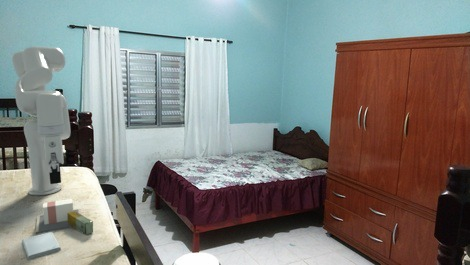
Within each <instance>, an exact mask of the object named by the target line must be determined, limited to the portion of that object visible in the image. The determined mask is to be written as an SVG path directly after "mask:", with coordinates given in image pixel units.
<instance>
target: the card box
mask: <svg viewBox="0 0 470 265" xmlns="http://www.w3.org/2000/svg"><path fill="white" fill-rule="evenodd" d="M73 204H74V203H73V198H68V199H62V200H53V201H48V202H43V204H42V213H43V214H42V215H44V224H51V223H56V222H62V221H67V220H68V216H67V213H69V212H72V211H73V210H74V205H73Z"/></svg>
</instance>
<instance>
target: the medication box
mask: <svg viewBox="0 0 470 265" xmlns="http://www.w3.org/2000/svg"><path fill="white" fill-rule="evenodd" d="M67 216H68V224H70V225H71V226H73V227H72V228H75V229H76V230H78V231H79V232H81V233H82V234H84V235H85V236H89V235H91V234H93V233H94V221H93V220H91V219H90V218H88V217H86V216H84V215H82V213H81V214H79V213H77V212H76V211H72V212H69V213H67Z"/></svg>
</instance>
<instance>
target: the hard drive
mask: <svg viewBox="0 0 470 265" xmlns="http://www.w3.org/2000/svg"><path fill="white" fill-rule="evenodd" d="M21 241H22V245H23V247H24V250H25V254H26V256H27V260H32V259H35V258H39V257H41V256H45V255H49V254H53V253H55V252H60V251H61V250H62V249H61V246H60V244H59V242H58V240H57V238H56V236H55V234H54V232H53V231H48V232H44V233H40V234H38V235H37V234H36V235H34V236H29V237H26V238H23V239H22V240H21Z"/></svg>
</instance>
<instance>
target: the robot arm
mask: <svg viewBox="0 0 470 265" xmlns="http://www.w3.org/2000/svg"><path fill="white" fill-rule="evenodd" d="M11 59H12V60H11V61H12V65H13V68H14V71H15V74H16V75H17V77H18V80H17V81H16V82H15V85H14V96H15V103H16V106H17V108H18V110H19V111H20V112H21V113H24V114H27V115H28V116H30V117H36V119H33V120H32V119H31V120H29V121H27V122H26V123H25V124H24V125H23V133H24V136H25V141H26V144H27V150H28V158H29V166H30V176H31V185H32V186H31V188H30V189H28V194H29V195H32V196H44V195H52V194H54V193H57V192H60V191H61V190H62V185H61V183H62V175H61V165H63V164H64V163H65V161H64V152H63V149H64V148H63V140H67V139H68V138H70V137H71V123H70V116H69V115H70V114H69V107H68V102H67V100H66V97H65V96H64V95H63V94H62V92H60V91H58V90H47V88H46V85H48V84H49V83H50V82H52V79H53V76H54V75H53V73H59V72H61V71H62V70H64V68H65V66H66V57H65V54H64V52H63V51H62V49H60V48H59V47H53V46H29V47H26V48H24V50H23V51H22V50H21V51H16V52H15V53H13V55H12V58H11ZM60 189H61V190H60Z"/></svg>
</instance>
